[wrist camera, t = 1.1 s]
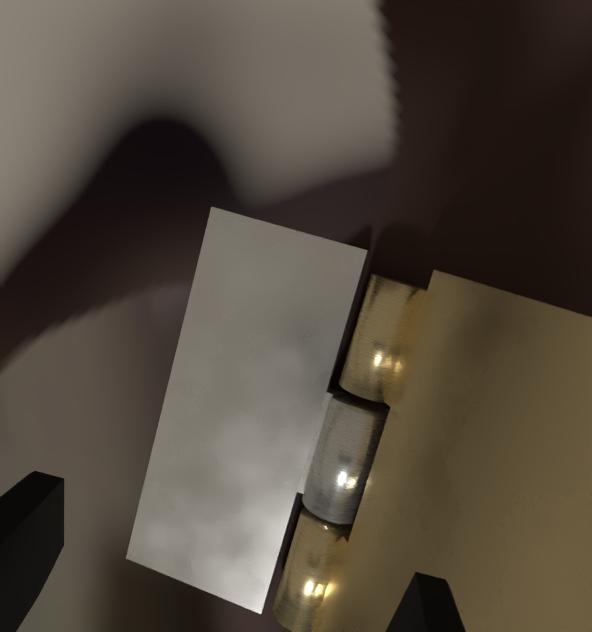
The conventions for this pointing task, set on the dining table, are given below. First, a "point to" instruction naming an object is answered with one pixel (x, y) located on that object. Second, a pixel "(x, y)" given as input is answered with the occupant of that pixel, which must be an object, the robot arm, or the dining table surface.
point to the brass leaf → (460, 466)
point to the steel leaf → (255, 410)
